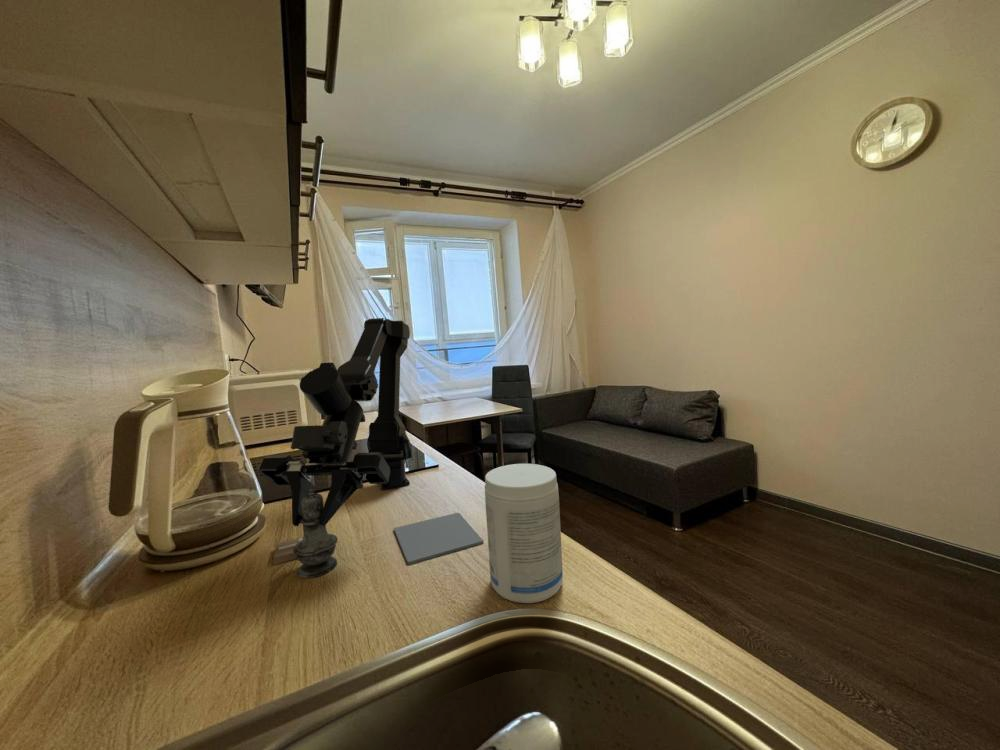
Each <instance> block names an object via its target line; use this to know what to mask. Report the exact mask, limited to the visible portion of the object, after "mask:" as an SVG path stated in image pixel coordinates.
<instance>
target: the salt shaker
mask: <svg viewBox="0 0 1000 750" xmlns="http://www.w3.org/2000/svg"><path fill="white" fill-rule="evenodd" d="M313 491H314V490H313V489H312V488H310V490H309V492H310V493H309V494H308V495H306V496H305V497H303V499H302V501H301V504H302V516H303V518H302V519H301V520H300V525H302V533H303V535H302V537H303V539H302V541H300V542H299V543H297V544H296V545H295V546H294V548H293V552H294V553H295V554H296V557H297V560H298V561H299V563H301V565H300V566H299V568H298V569H297V576H298V577H300V578H303V579H304V578H305V579H314V578H317V577H321V576H325V575H326V574H328V573H330V572H331V571H333V569H335V568H336V567H337V565H338V559H337V558H336V557H334V556H333V555H334V552H335V550H336V547H337V543H338V540H339V539H338V536H336V535H335V534H334V533H333V534H332V533H328V531H327V526H326V525H327V524H326V525H325V526H322V525H321V524H320V519H321V514H322V511H323V508H324V498H323V495H322V494H320V493H318V492H315V491H314V492H313Z"/></svg>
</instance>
